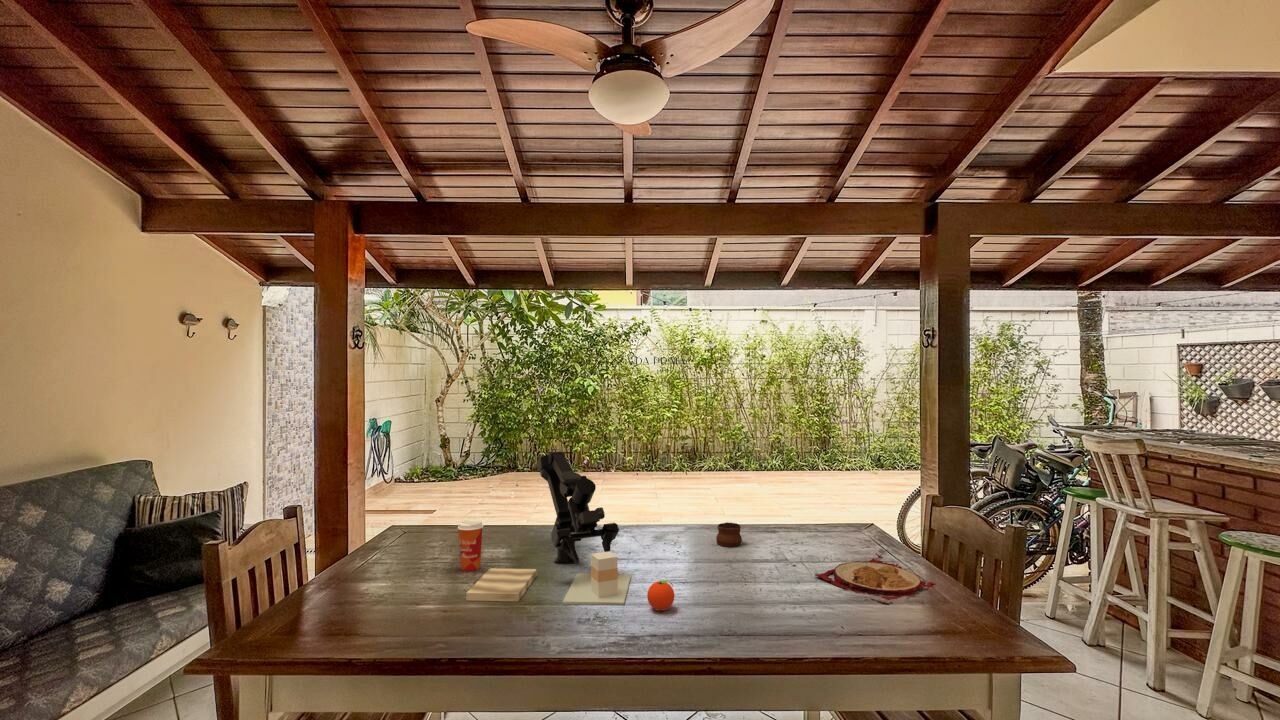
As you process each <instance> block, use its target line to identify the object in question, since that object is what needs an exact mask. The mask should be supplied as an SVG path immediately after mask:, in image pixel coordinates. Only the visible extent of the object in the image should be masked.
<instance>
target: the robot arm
mask: <svg viewBox="0 0 1280 720" xmlns="http://www.w3.org/2000/svg"><path fill="white" fill-rule="evenodd" d="M536 465H537V467H536V468H537V470H538V471H539V474H540V477H541V478H542V479H544V480H545V481H546V482H547V484H548V488H549V491H550V495H551V499H552V503H553V506H554V511H555V513H556V517H555V518H556V519H555V522H554V525H553V528H552V531H551V534H550V535H551V537H550V538H551V541H552V543H553V546H554V548H555V549H557V551H556V552H557V553H556V554H557V555H556V556H557V557H556V558H555V560H554V563H555V564H576V565H579V564H580V561H579V559H580V558H579V555H578V552H577V550H576V542H581V541H582V539H589V538H597V537H600V539H601V540H602V542H601V545H602V548H603V552H609V551H610V552H611V544H612V542H613V541H614V540H615V539H616V537H617V535H618V534H619V532H620V528H619V524H617V523H616V522H610V523H609V522H608V523H604V524H603V526H602V528H598V529H596V528H597V527H598V522H600V521H601V520H603V519H604V518H605V516H606V514H605V510H604V508H603V507H597V508H595V509H594V510H590V507H589V503H591V501H592V498H593V496H594V493H595V492H596V488H597V487H596V484H595V483H594V481H593V480H591V479H590V478H587V475H581V474H579V473H577V472H574V470H573V468H572V466H571V465H570V463H569V461H568V460H567V458H566V454H565V451H551V452H549V453H548V454H545V455H543V456H540V457H539V458H538V460H537V462H536ZM568 498H569V499H568Z"/></svg>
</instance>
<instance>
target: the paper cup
mask: <svg viewBox="0 0 1280 720" xmlns="http://www.w3.org/2000/svg"><path fill="white" fill-rule="evenodd" d="M483 528H484V524H483V523H482V520H477V519H469V520H464V521H461V522H459V523H458V526H457V530H458V538H459V539H458V540H459V556H460V557H459V558H460V569H461V571H462V572H463V571H464V572H473V571H477V570H480V568H481V560H482V559H481V558H482V557H481V556H482V541H483V538H482V537H483Z"/></svg>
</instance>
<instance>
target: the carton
mask: <svg viewBox="0 0 1280 720" xmlns="http://www.w3.org/2000/svg"><path fill="white" fill-rule="evenodd" d="M590 564H591V565H590V574H591V591H592V592H593V593H594V594H595V595H596V596H597V597H598V598H599V597H605V596H611V595H617V594H618V574H619V567H618V556H617V555H616V554H614V553H613V552H611V550H610V551H609V552H604V551H602V552H596V553H591V554H590Z"/></svg>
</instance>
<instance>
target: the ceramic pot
mask: <svg viewBox="0 0 1280 720" xmlns="http://www.w3.org/2000/svg"><path fill="white" fill-rule="evenodd" d="M741 527H742V526H741V525H740V524H738V523H735V522H723V523H718V525H717V531H718V533H717V534H716V537H715V539H716V545H717V546H718V547H721V548H732V549H733V548H738V547H739V546H741V544H742V541H743V538H742V535H741Z"/></svg>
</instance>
